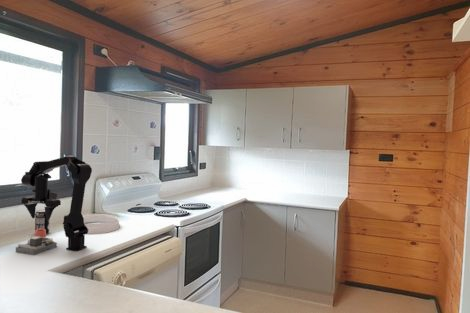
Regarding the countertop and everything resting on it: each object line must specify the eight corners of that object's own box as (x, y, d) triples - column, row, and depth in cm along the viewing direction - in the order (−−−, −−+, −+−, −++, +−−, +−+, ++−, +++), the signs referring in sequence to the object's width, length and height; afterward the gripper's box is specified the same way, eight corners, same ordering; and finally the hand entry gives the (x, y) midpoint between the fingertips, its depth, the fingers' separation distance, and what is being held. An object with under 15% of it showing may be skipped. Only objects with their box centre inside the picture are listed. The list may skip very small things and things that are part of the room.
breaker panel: (56, 246, 169) (57, 239, 169) (33, 254, 156) (33, 246, 156) (39, 243, 172) (39, 236, 172) (15, 251, 159) (15, 244, 159)
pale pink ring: (59, 233, 192) (59, 223, 192) (79, 221, 219) (79, 212, 219) (110, 235, 193) (110, 225, 193) (124, 223, 220) (124, 214, 220)
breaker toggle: (41, 246, 162) (41, 236, 162) (35, 248, 158) (35, 238, 158) (36, 245, 163) (36, 235, 162) (29, 247, 159) (29, 237, 159)
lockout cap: (47, 240, 178) (48, 228, 177) (40, 243, 173) (40, 230, 173) (40, 239, 179) (40, 227, 179) (32, 242, 175) (33, 229, 174)
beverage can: (45, 230, 195) (46, 208, 195) (51, 233, 191) (51, 210, 191) (32, 232, 190) (33, 210, 190) (38, 235, 186) (38, 212, 186)
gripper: (69, 186, 180) (68, 217, 181) (39, 184, 185) (39, 214, 186) (51, 189, 169) (51, 222, 170) (20, 186, 175) (20, 218, 175)
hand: (40, 219), depth 176 cm, fingers open, 9 cm apart
